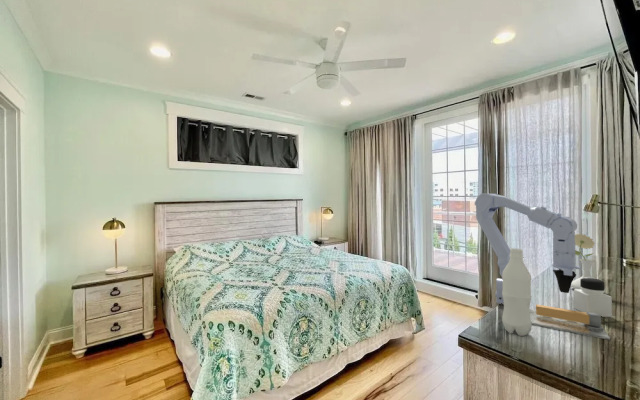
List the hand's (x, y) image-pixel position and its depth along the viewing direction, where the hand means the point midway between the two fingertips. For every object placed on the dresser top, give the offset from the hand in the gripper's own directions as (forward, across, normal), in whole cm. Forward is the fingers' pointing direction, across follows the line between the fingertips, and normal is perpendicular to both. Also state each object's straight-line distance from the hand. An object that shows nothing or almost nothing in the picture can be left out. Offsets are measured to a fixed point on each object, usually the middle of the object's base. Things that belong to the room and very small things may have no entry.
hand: (564, 292), depth 94 cm
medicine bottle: (+9, +10, -9) cm, 16 cm away
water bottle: (+9, -22, +14) cm, 28 cm away
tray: (+8, -6, +1) cm, 11 cm away
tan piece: (+7, -6, 0) cm, 10 cm away
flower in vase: (+9, +42, -13) cm, 45 cm away
